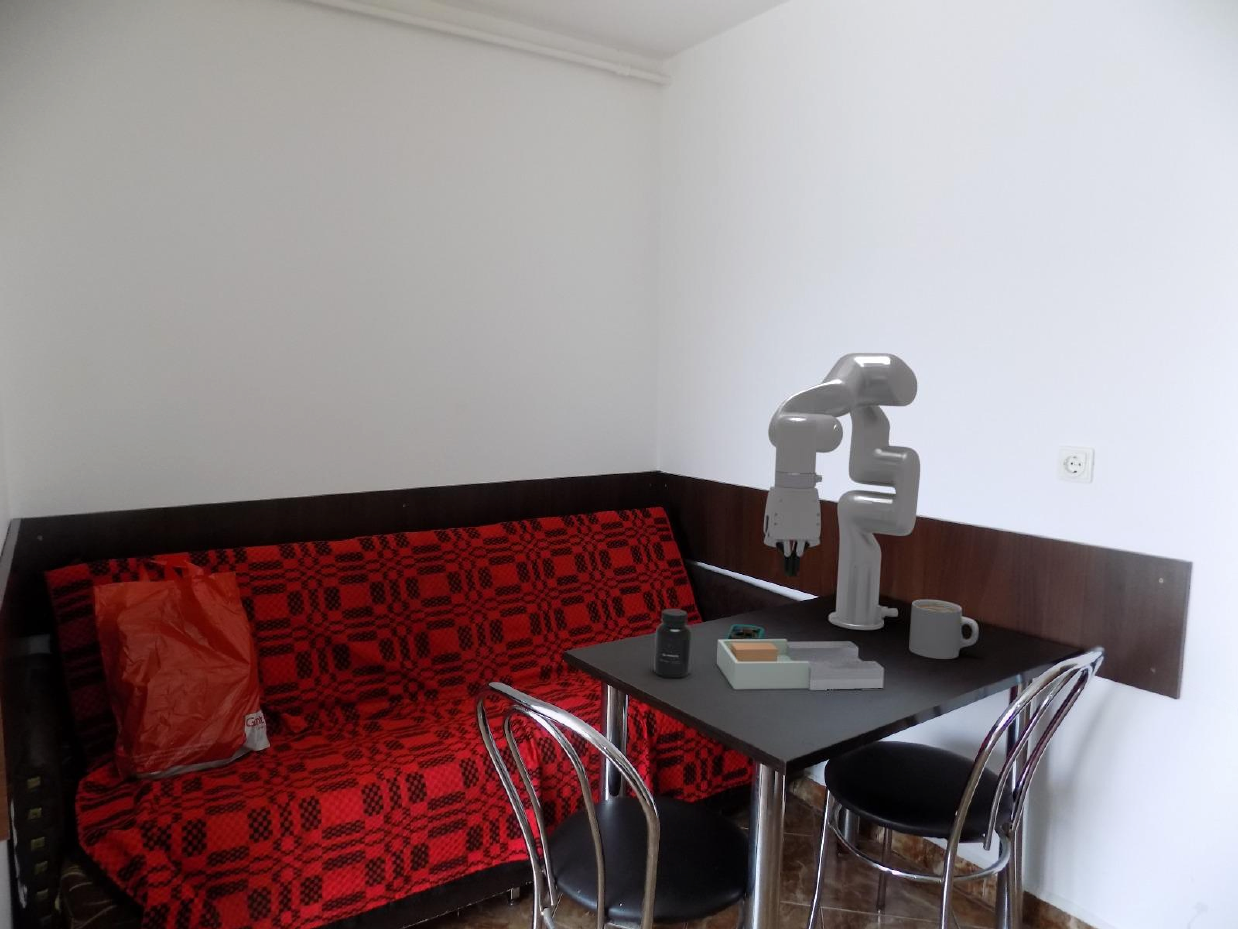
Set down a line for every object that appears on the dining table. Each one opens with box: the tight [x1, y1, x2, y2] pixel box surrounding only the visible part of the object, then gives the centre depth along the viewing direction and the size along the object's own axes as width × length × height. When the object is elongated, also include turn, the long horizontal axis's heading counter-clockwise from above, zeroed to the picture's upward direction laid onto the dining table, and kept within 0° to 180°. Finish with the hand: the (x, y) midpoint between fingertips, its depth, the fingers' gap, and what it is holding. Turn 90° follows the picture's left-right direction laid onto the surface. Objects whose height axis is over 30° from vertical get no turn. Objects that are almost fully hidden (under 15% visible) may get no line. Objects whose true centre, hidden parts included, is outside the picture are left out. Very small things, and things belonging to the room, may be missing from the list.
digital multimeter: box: [724, 624, 765, 640], centre depth 180 cm, size 7×15×3 cm, turn 164°
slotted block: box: [786, 640, 885, 691], centre depth 163 cm, size 14×16×4 cm
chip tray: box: [716, 638, 809, 690], centre depth 161 cm, size 14×14×5 cm
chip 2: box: [752, 643, 778, 662], centre depth 161 cm, size 4×4×4 cm
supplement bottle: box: [653, 608, 692, 679], centre depth 161 cm, size 7×7×12 cm
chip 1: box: [731, 643, 757, 662], centre depth 161 cm, size 4×4×4 cm
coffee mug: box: [908, 599, 980, 660], centre depth 178 cm, size 13×10×10 cm
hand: (790, 575), depth 162 cm, fingers closed
